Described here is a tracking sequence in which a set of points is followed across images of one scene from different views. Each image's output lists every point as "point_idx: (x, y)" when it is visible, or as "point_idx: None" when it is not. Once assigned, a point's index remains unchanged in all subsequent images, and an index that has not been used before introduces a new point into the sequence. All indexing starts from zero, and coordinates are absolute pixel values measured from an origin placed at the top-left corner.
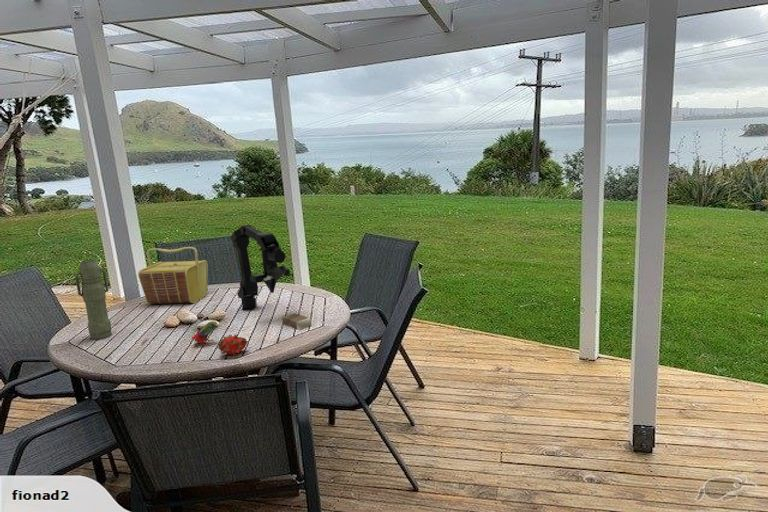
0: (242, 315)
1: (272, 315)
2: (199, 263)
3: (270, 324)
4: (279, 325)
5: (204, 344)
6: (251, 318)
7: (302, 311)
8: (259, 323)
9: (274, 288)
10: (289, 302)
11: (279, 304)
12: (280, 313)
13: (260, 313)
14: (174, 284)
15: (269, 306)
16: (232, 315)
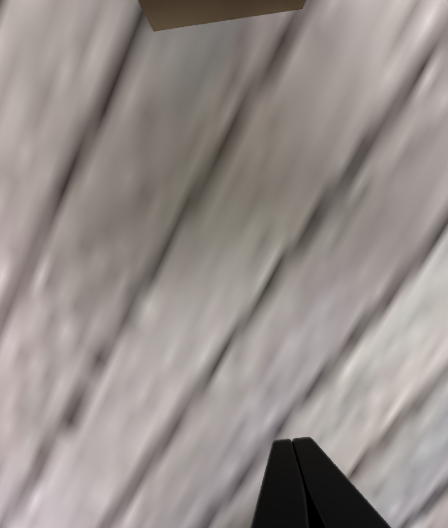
0: (395, 478)
1: (245, 328)
2: None
3: (381, 110)
4: (343, 4)
5: None
6: (393, 377)
7: (6, 241)
8: (425, 215)
9: (253, 522)
10: (17, 506)
11: (93, 514)
12: (175, 328)
13: (286, 433)
14: None
15: (166, 521)
16: (437, 519)
